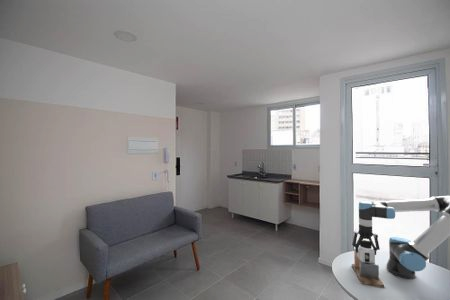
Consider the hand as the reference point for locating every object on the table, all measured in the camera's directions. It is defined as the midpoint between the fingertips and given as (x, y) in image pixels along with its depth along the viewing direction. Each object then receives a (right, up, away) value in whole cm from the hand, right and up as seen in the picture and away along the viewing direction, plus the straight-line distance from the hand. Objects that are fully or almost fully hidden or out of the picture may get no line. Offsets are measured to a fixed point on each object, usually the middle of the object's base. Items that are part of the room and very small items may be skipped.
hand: (365, 258), depth 136 cm
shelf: (0, -11, -1) cm, 11 cm away
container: (0, -1, 0) cm, 1 cm away
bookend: (-1, -10, -5) cm, 11 cm away
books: (+2, -10, +7) cm, 12 cm away
